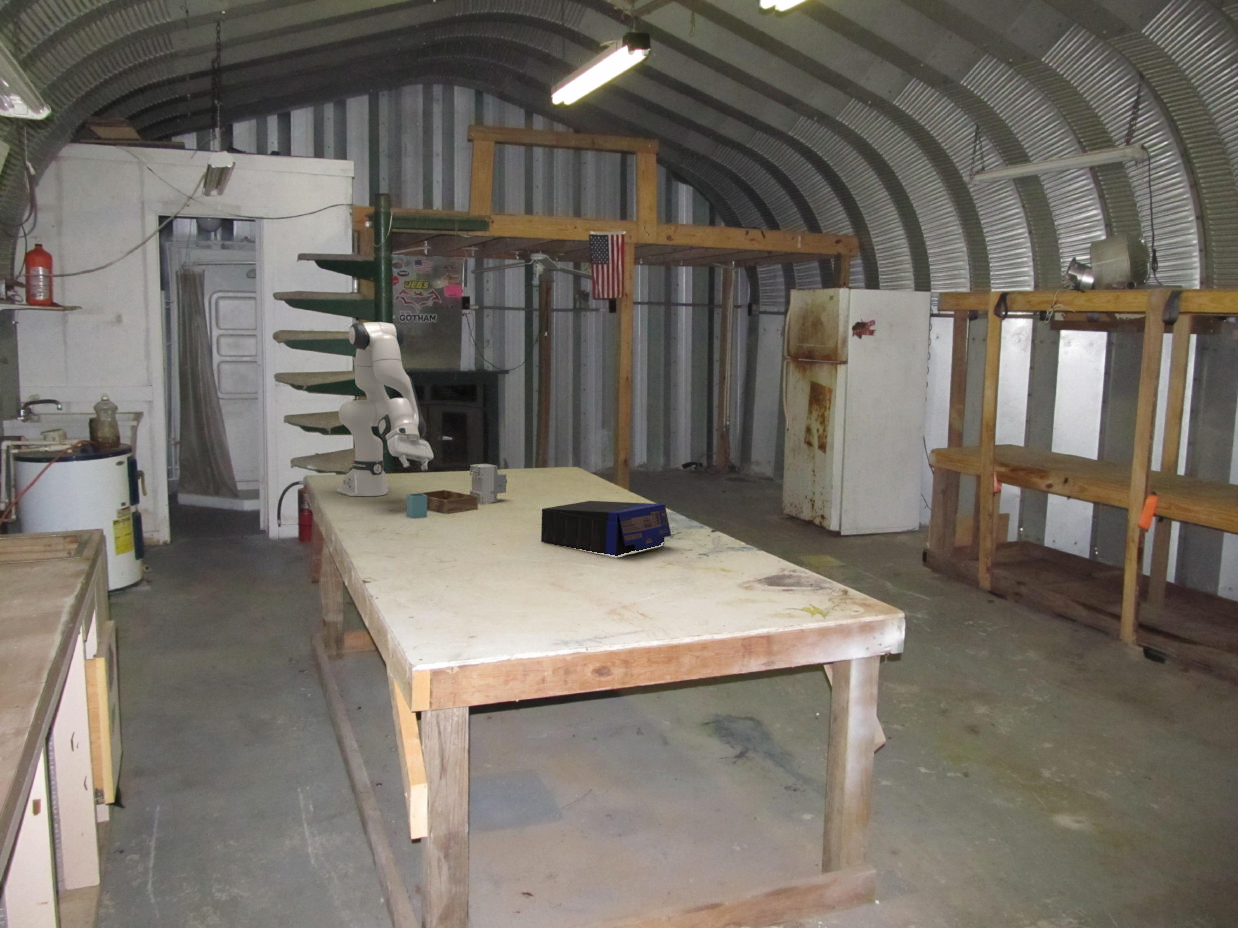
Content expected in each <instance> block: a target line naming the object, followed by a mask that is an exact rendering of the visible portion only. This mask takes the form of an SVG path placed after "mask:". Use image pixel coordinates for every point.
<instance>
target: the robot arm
mask: <svg viewBox="0 0 1238 928" xmlns="http://www.w3.org/2000/svg"><path fill="white" fill-rule="evenodd" d="M404 330H405V329H404V328H403V326H402V325H401V324H397V323H394V322H392V323H390V322H383V321H376V322H374V321H373V322H372V321H371V322H362V321H361V322H359V321H358V322H354V323H352V324H351V326H350V327H349V330H348V341H349V344H350V345H351V347H353V348H355V349H356V352H355V362H354V364H355V366H354V368H355V370H354V371H355V372H354V374H355V375H354V376H355V377H354V380H355V381H354V382H355V385H356V387H357V388H358V389H360V390H361V391H363V392H364V393H365V396H366V399H356V400H349V401H347V402H343V403H342V404H341V405H340V407H339V409H338V419H339V421H340V423H342V425H344V426H345V428H347V429H348V430H349V432H350V433H351V436H352V439H353V443H354V457H355V459H354V460H351V462H352V463H351V464H352V467H351V470H350V471H349V472H348V473H347V474H346V475H344V476H343V479H342V487H339V488H337V489H336V492H337V493H340V494H343V495H346V496H349V497H377V496H378V497H379V496H384V495H387V494H388V492H390V490H389V488H388V487H387V477H386V476H387V475H386V472H385V471H384V469H385V461H384V444H383V441H382V439H383V440H384V441H387V442H386V444H387V449H388V452H389V454H390V455H391V456H393V457H398V460H399V461H400V462H401V464H402V466H403V468H406V469H407V468H409V467H411V465H410V461H408V460H414V461H419V462H420V463H421V464H422V465H421V466H420V469H421V471H428V462H431V461H432V460H433V459H434V453H433V450H432V447H431V445H430V443H429V442H428V441H426V440H425V438H423V437H424V436H425V435H426V433H427V432H426V431H427V426H426V422H425V419H424V417H423V414H422V411H421V406H420V403H419V399H418V396H417V392H416V389H415V385H414V382H413V379H412V378H411V376H410V375H408V374H407V373H406V371H405V369H404V367H403V363H402V362H403V361H402V354H401V350H400V348H401V347H403V345H404V343H405V331H404ZM385 386H386V387H389V388H391V389H394V390H395V391H397V392H399V393H400V394H401V396H402V397H401V396H399V397H398V396H397V397H393V398H390V397H389V395H388V393H387V391H386V389H385V388H386V387H385ZM372 427H377V429H378V433H379V435H380V437H381V438H382V439H381V438H379V437H378V436H376V435H374V433H373V429H372ZM407 459H408V460H407Z"/></svg>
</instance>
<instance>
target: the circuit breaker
mask: <svg viewBox="0 0 1238 928" xmlns="http://www.w3.org/2000/svg"><path fill="white" fill-rule="evenodd" d="M469 465H470V468H469V476H470V477H471V489H470V490H469V495H474V496H478V505H480V504H481V505H486V504H485V503H490V504H492V503H491V502H497V503H498V494H504V493H507V483H508V479H507V473H501V472H499V471H498V469H499V467H498V465H494V464H489V463H479V464H469Z"/></svg>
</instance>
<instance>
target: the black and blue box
mask: <svg viewBox="0 0 1238 928" xmlns="http://www.w3.org/2000/svg"><path fill="white" fill-rule="evenodd" d="M540 533H541V536H540V537H541V538H540V539H541V541H540V542H541V543H543V542H544V543H543V544H548V545H552V544H554V545H553V546H557V545H559V546H558V547H562V546H566V547H571V548H576V549H582V550H586V551H592V552H597V553H604V554H610V555H615V556H618V555H621V554H624V553H629V552H631V551H635V550H636V551H639V550H643V549H647V548H651V547H655V546H659V545H661V543H662V542H664V543H665V538H667V537H671V536H672V532H671V528H670V523H669V518H668V512H667V508H666V504H665V503H647V502H645V503H644V502H625V501H623V502H621V501H604V500H603V501H600V500H586V501H581V502H575V503H568V504H564V505H563V504H562V505H557V506H552V507H551V506H549V507H545V508H542V509H541V532H540ZM566 547H565V548H566ZM571 548H570V549H571Z"/></svg>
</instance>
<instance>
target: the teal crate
mask: <svg viewBox="0 0 1238 928" xmlns="http://www.w3.org/2000/svg"><path fill="white" fill-rule="evenodd" d="M418 493H419V494H416V493H407V494H406V516H407V517H408V518H411V519H420V518H421V517H422V518H427V517H428V510H427V495H424V494H422V493H423V492H418Z"/></svg>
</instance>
